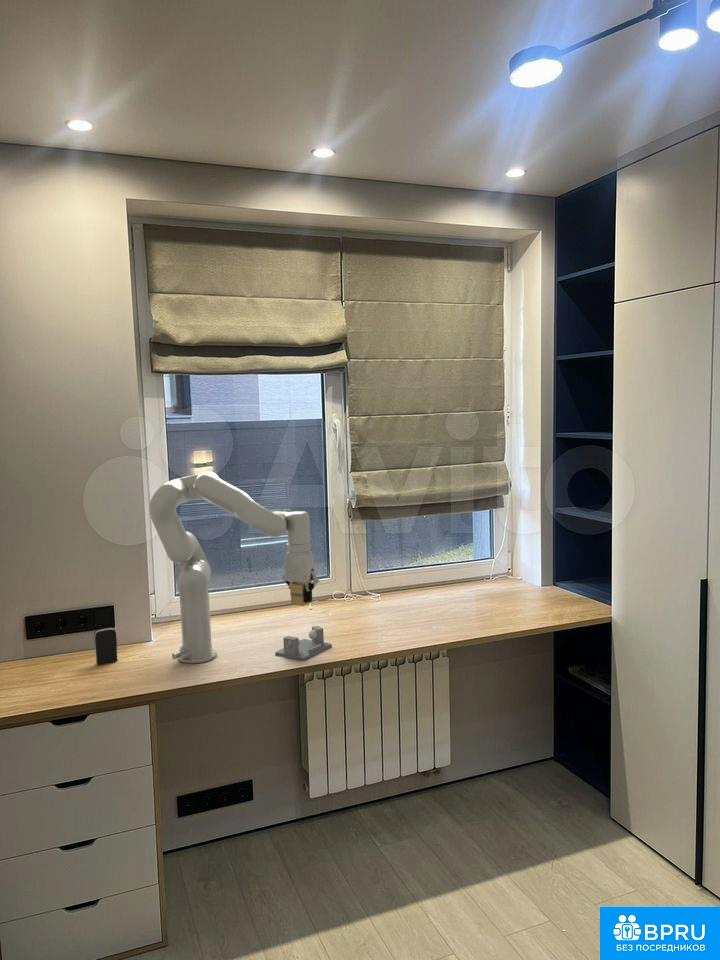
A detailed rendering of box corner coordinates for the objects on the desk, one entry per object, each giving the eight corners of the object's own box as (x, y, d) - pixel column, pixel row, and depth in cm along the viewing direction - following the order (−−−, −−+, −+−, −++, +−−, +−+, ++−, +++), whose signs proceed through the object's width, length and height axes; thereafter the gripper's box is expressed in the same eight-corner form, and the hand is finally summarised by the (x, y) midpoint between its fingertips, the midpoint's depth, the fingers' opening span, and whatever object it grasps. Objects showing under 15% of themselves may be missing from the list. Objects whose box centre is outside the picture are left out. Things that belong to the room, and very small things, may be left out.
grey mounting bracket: (303, 660, 231) (303, 641, 231) (275, 655, 238) (274, 636, 237) (332, 646, 245) (331, 627, 245) (304, 641, 252) (304, 623, 251)
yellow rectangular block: (303, 606, 236) (302, 585, 236) (290, 604, 239) (289, 583, 238) (312, 602, 241) (311, 582, 240) (300, 600, 243) (299, 580, 243)
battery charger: (115, 658, 239) (113, 625, 238) (118, 661, 236) (116, 628, 235) (94, 663, 235) (91, 629, 234) (96, 666, 232) (94, 632, 231)
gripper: (272, 548, 240) (274, 600, 241) (313, 552, 230) (315, 606, 232) (286, 544, 246) (288, 595, 247) (326, 548, 237) (328, 601, 238)
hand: (301, 600), depth 240 cm, fingers closed on yellow rectangular block, 5 cm apart
